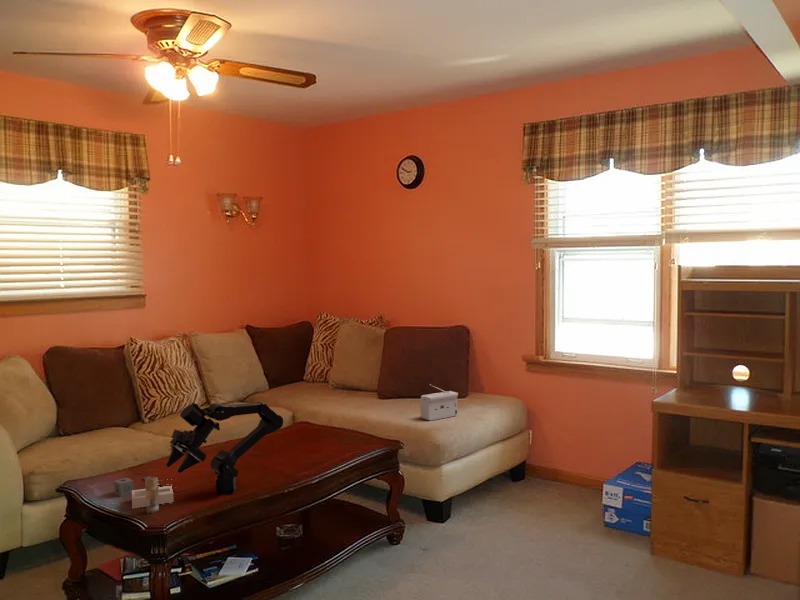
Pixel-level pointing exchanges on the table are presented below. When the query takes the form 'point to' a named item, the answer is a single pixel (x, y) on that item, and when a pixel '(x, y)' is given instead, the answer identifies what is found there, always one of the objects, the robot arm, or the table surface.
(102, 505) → the table surface
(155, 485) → the maple peg
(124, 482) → the dice cube
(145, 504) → the keyhole block
